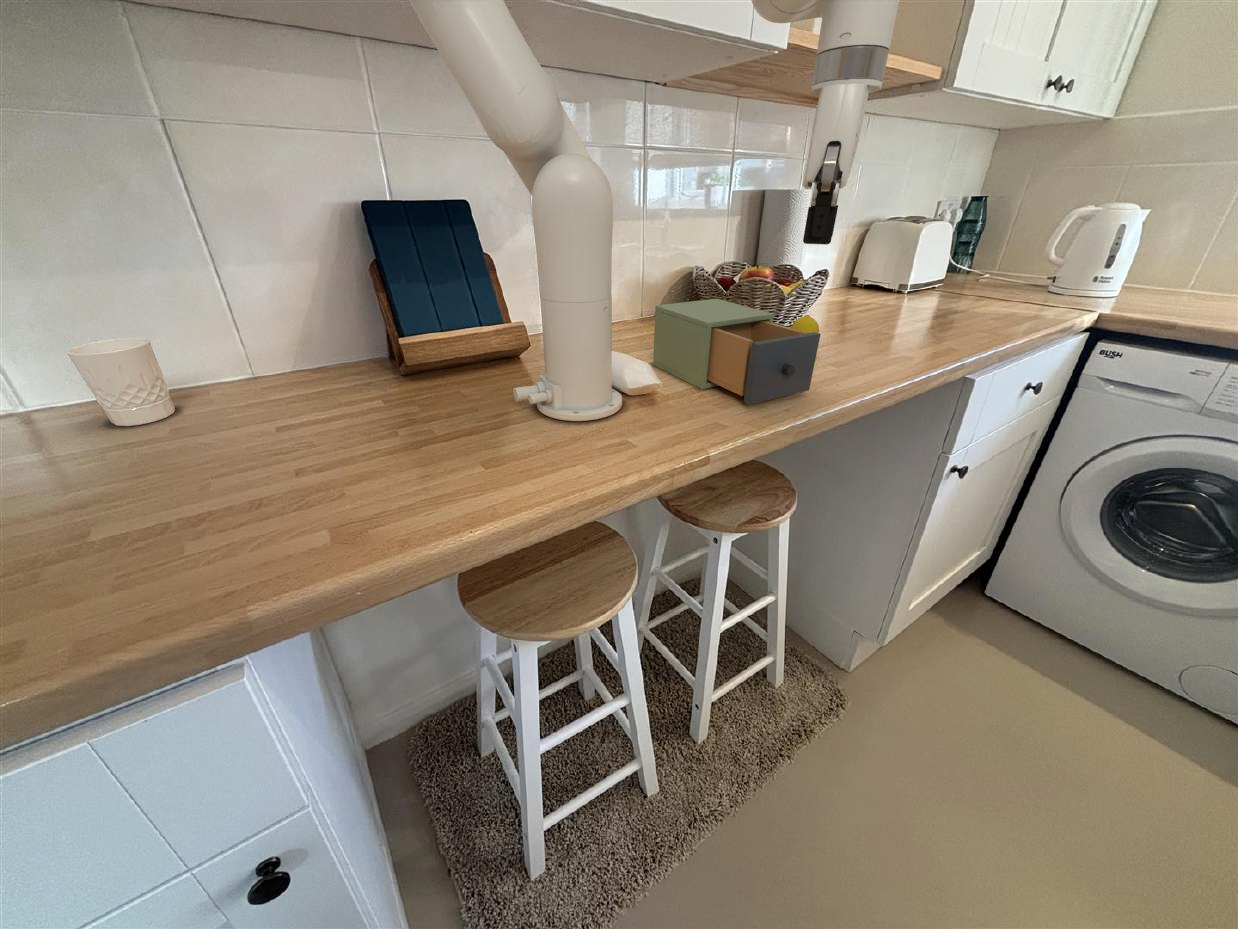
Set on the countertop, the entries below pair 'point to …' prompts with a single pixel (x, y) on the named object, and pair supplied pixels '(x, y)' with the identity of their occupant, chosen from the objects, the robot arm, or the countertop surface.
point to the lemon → (806, 325)
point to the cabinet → (694, 335)
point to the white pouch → (633, 375)
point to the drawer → (761, 359)
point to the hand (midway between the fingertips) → (818, 240)
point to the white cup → (124, 379)
